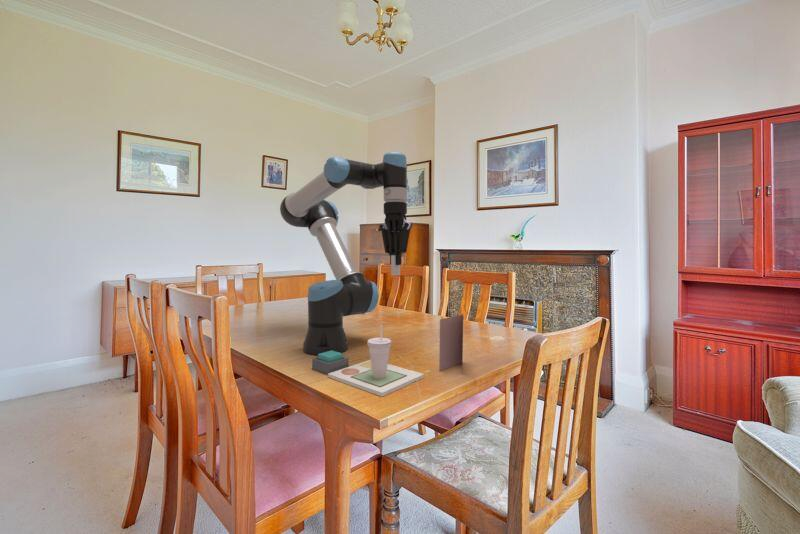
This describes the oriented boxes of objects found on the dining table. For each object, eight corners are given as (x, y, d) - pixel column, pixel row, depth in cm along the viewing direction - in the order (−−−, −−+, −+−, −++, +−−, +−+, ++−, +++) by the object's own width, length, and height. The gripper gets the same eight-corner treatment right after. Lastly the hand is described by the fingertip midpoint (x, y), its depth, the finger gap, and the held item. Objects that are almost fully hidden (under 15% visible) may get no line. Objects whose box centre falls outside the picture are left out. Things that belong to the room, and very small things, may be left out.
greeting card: (460, 361, 117) (460, 313, 116) (480, 367, 111) (481, 317, 111) (436, 370, 109) (437, 319, 108) (457, 376, 103) (458, 322, 102)
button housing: (312, 369, 109) (312, 358, 108) (332, 362, 114) (332, 353, 114) (328, 374, 104) (328, 364, 104) (348, 368, 109) (348, 358, 109)
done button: (318, 364, 109) (318, 354, 108) (331, 360, 112) (331, 350, 112) (329, 367, 105) (329, 357, 105) (342, 363, 109) (342, 353, 109)
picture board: (328, 377, 102) (328, 373, 102) (371, 362, 115) (371, 358, 115) (382, 396, 89) (382, 392, 89) (424, 377, 102) (424, 373, 102)
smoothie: (387, 381, 96) (387, 327, 95) (364, 379, 98) (363, 326, 97) (393, 373, 102) (393, 322, 101) (371, 371, 104) (371, 321, 103)
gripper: (373, 203, 122) (373, 274, 124) (401, 199, 113) (402, 276, 115) (389, 204, 128) (389, 273, 129) (418, 201, 119) (418, 275, 120)
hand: (395, 275), depth 122 cm, fingers closed
